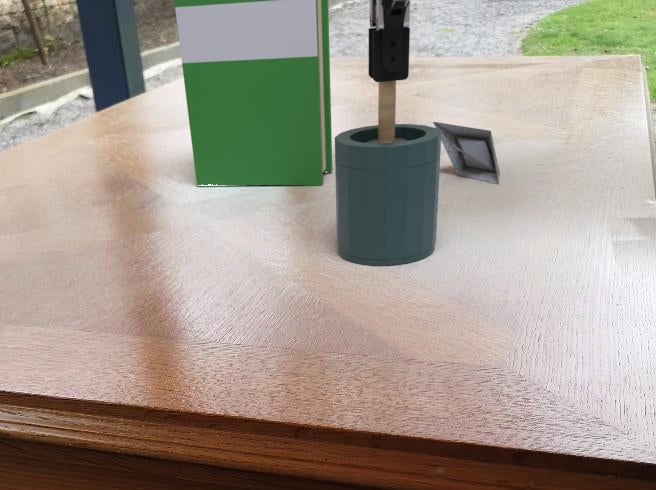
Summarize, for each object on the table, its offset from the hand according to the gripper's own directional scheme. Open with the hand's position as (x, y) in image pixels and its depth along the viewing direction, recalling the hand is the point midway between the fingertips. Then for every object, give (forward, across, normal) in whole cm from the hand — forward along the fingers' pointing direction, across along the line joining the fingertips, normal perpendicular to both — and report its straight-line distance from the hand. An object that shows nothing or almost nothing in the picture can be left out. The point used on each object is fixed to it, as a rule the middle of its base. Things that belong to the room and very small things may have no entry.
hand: (388, 77), depth 72 cm
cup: (+16, 0, 0) cm, 16 cm away
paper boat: (+16, +26, -15) cm, 34 cm away
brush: (+11, 0, 0) cm, 11 cm away
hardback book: (+16, +34, +11) cm, 39 cm away
